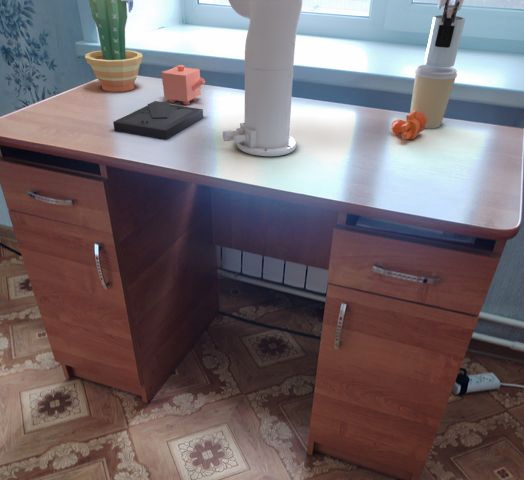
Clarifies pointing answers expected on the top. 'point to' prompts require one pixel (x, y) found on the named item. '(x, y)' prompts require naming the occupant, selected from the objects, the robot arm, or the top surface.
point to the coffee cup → (432, 92)
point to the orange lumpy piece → (410, 125)
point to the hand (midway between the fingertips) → (443, 43)
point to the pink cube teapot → (182, 84)
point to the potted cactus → (113, 46)
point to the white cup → (442, 54)
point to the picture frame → (158, 120)
